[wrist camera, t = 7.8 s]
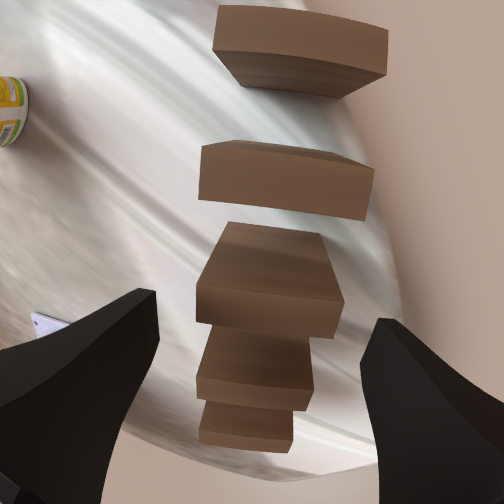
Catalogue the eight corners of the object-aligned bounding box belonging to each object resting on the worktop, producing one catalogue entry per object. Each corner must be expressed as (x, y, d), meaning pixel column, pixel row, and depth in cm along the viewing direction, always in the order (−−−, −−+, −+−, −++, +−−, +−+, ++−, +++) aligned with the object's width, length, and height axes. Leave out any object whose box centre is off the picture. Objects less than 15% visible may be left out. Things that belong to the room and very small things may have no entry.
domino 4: (299, 324, 18) (305, 411, 12) (221, 314, 19) (197, 398, 12) (304, 303, 18) (314, 390, 11) (222, 292, 18) (196, 376, 12)
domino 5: (287, 372, 20) (287, 453, 14) (219, 363, 20) (199, 442, 14) (291, 356, 20) (293, 440, 13) (219, 347, 20) (198, 429, 13)
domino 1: (338, 99, 13) (386, 75, 7) (240, 86, 13) (212, 50, 7) (341, 71, 12) (388, 30, 6) (244, 58, 13) (218, 5, 6)
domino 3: (313, 259, 17) (332, 338, 10) (226, 248, 17) (196, 322, 10) (319, 233, 16) (344, 302, 10) (228, 221, 16) (196, 283, 10)
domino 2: (327, 182, 15) (364, 221, 8) (232, 169, 15) (198, 199, 9) (332, 152, 14) (374, 169, 8) (235, 139, 14) (201, 146, 8)
